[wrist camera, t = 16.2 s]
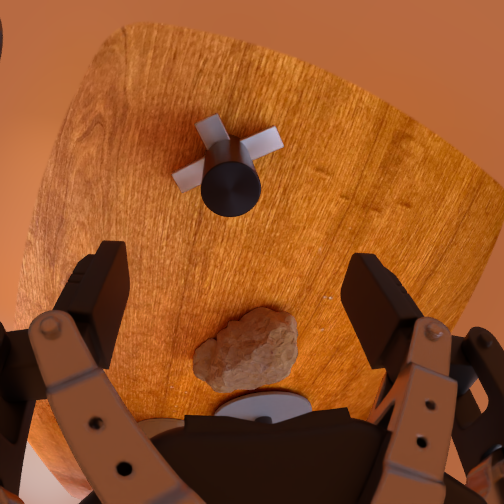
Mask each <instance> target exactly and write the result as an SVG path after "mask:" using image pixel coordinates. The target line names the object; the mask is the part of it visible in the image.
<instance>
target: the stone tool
mask: <svg viewBox="0 0 504 504" xmlns="http://www.w3.org/2000/svg"><path fill="white" fill-rule="evenodd" d="M296 327H297V322H296V320H295V318H294V317H293V316H292V315H290V314H289V313H287V312H284V311H281V312H275V311H273V310H271V309H268V308H265V307H259V308H256V309H254V310H252V311H251V312H249V313H247V314H245V315H244V316H243V317H242V319H241V320H240V321H235V320H233V321H228V327H227V328H225V329H223V330H221V331H219V332H218V334H217V341H216V340H215V339H213V338H211V339H208V340H207V341H206V342H205V343H203V344H202V345H201V346H200V347H199V348H197V349H196V350H195V354H194V356H193V371H194V374H195V376H196V377H197V378H199V379H201V380H203V381H206V383H207V384H209V385H210V386H211V387H212V389H213V390H214V391H216V392H218V393H229V392H232V391H233V390H237V389H246V390H253V389H256V388H258V387H261V386H262V385H265V384H272V383H276V382H279V381H281V380H283V379H284V378H286V377H287V376H288V375H289V374H290V371H291V370H290V369H291V367H292V365H293V364H294V363H295V361H296V358H297V356H298V349H297V346H296V345H297V342H296V341H297V336H298V332H297V329H296Z"/></svg>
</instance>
